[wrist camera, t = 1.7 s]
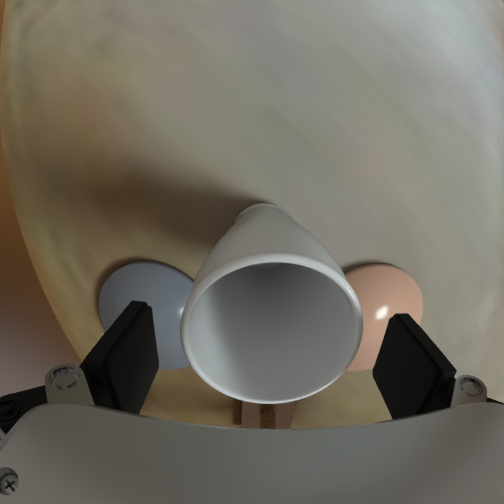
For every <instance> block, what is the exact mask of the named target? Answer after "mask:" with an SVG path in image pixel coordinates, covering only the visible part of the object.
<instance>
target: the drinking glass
mask: <svg viewBox="0 0 504 504" xmlns="http://www.w3.org/2000/svg"><path fill="white" fill-rule="evenodd" d="M362 336H363V313H362V309H361V305H360V302H359V300H358V297H357V295H356V294H355V292H354V290H353V289H352V287H351V285H350V283H349V281H348V279H347V278H346V276H345V274H344V272H343V271H342V269H341V268H340V266H339V265H338V263H337V262H336V260H335V259H334V258H333V256H332V255H331V254H330V252H329V251H328V250H327V249H326V248H325V247H324V245H323V244H322V243H321V242H320V241H319V240H318V239H317V238H316V237H314V236H313V235H312V234H311V233H310V232H309V231H307V230H306V229H305V228H304V227H302V226H301V225H300V224H299V223H297V222H296V221H295V220H294V219H293V218H292V217H291V216H290V214H289V213H288V212H287V211H285V210H284V209H283V208H281V207H279V206H277V205H274V204H270V203H259V204H255V205H252V206H249V207H248V208H246V209H244V210H243V211H242V212H241V213H240V214H239V215H238V216H237V218H236V219H235V221H234V223H233V225H232V226H231V227H230V228H229V229H228V230H227V232H226V233H225V234H224V235H223V236H222V237H221V238H220V240H219V241H218V242H217V243H216V245H215V246H214V247H213V248H212V250H211V251H210V252H209V254H208V256H207V257H206V259H205V260H204V262H203V264H202V266H201V267H200V269H199V272H198V274H197V276H196V278H195V280H194V282H193V285H192V287H191V290H190V293H189V295H188V298H187V301H186V304H185V306H184V309H183V312H182V316H181V321H180V338H181V344H182V348H183V351H184V353H185V356H186V358H187V360H188V362H189V364H190V365H191V367H192V368H193V369H194V371H195V372H196V373H197V374H198V375H199V376H200V377H201V378H202V379H203V380H204V381H205V382H206V383H207V384H209V385H210V386H211V387H213V388H214V389H216V390H218V391H219V392H221V393H223V394H225V395H228V396H230V397H233V398H236V399H239V400H242V401H247V402H252V403H261V404H276V403H285V402H291V401H295V400H299V399H302V398H305V397H308V396H310V395H313V394H315V393H317V392H319V391H320V390H322V389H324V388H326V387H327V386H329V385H330V384H331V383H333V382H334V381H335V380H336V379H338V378H339V377H340V376H341V375H342V374H343V373H344V371H345V370H346V369H347V368H348V367H349V365H350V364H351V363H352V361H353V359H354V358H355V356H356V354H357V352H358V349H359V347H360V344H361V340H362Z"/></svg>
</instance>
